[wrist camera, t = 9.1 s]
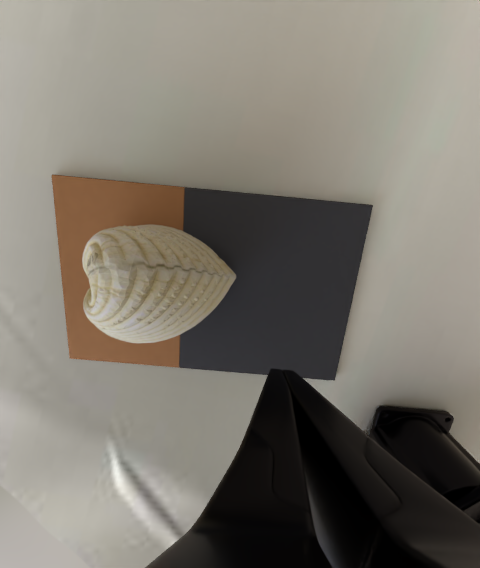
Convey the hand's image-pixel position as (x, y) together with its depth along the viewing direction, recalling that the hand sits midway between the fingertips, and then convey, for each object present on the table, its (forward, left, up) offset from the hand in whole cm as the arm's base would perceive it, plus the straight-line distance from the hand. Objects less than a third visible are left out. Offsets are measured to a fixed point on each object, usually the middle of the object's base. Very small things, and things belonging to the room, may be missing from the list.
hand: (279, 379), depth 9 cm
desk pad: (+4, 0, -10) cm, 11 cm away
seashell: (+7, -1, -10) cm, 12 cm away
